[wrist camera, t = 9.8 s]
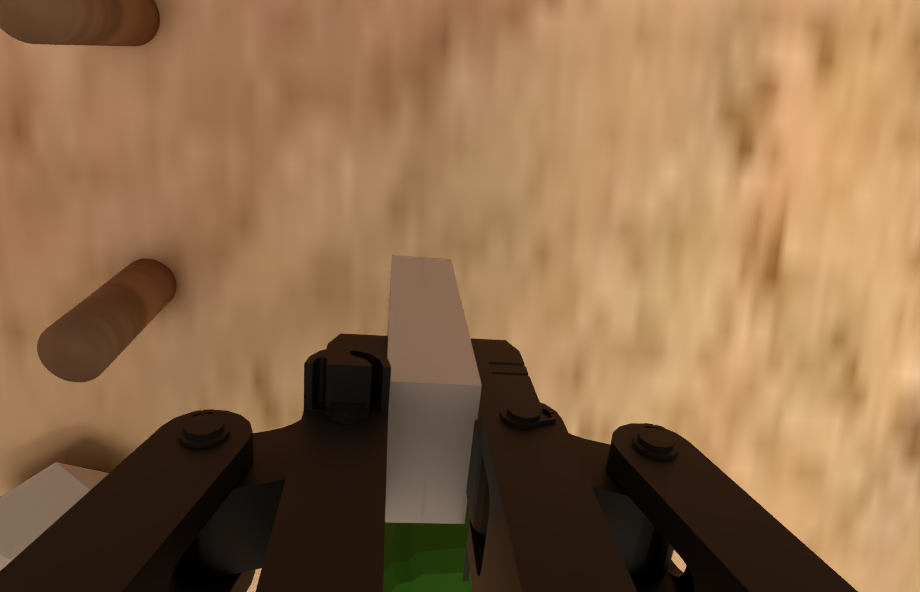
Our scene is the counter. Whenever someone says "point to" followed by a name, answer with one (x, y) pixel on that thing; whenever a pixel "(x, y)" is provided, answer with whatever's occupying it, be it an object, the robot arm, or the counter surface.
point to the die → (40, 505)
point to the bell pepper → (425, 557)
